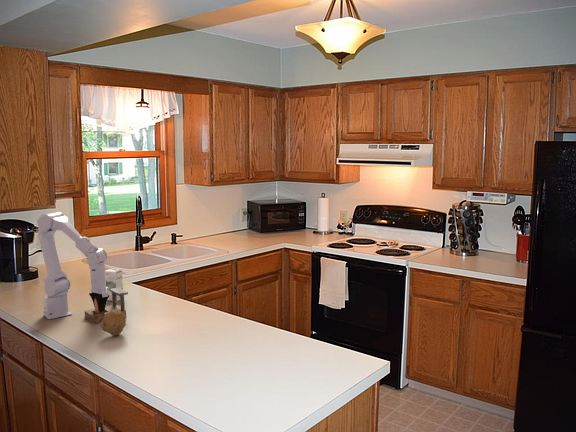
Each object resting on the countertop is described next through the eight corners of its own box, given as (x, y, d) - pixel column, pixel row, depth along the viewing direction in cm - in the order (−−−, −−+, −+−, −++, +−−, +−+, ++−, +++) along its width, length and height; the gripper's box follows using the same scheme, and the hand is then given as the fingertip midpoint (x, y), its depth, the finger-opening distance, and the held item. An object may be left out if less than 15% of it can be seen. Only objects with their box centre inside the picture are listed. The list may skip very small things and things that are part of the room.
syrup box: (124, 298, 248) (122, 268, 246) (116, 301, 242) (115, 271, 240) (113, 297, 249) (112, 267, 247) (106, 300, 243) (104, 270, 242)
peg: (106, 314, 218) (105, 298, 217) (97, 316, 216) (96, 300, 215) (103, 312, 221) (102, 296, 220) (93, 314, 219) (92, 298, 218)
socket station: (94, 324, 212) (92, 299, 210) (84, 317, 220) (83, 293, 218) (129, 316, 221) (128, 292, 220) (119, 310, 229) (118, 287, 228)
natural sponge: (100, 341, 193) (99, 315, 192) (102, 332, 202) (101, 308, 200) (126, 338, 196) (125, 312, 194) (127, 330, 204) (125, 305, 203)
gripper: (114, 280, 213) (116, 312, 215) (101, 273, 224) (102, 304, 226) (97, 283, 209) (99, 315, 211) (84, 276, 220) (86, 307, 222)
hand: (99, 310), depth 218 cm, fingers closed on peg, 4 cm apart
